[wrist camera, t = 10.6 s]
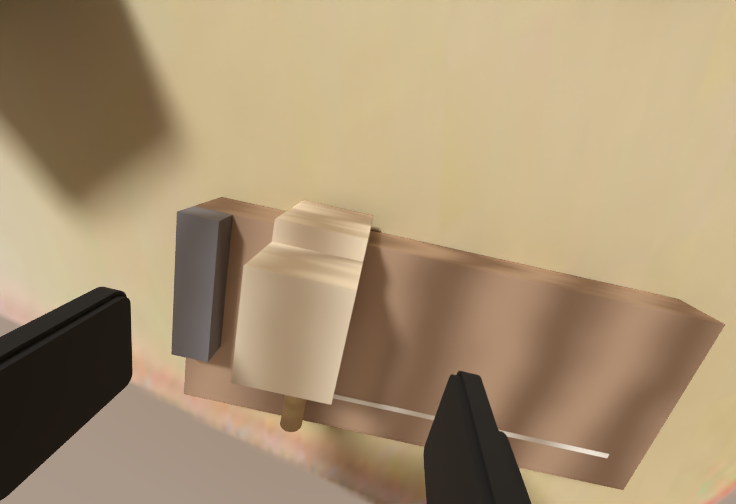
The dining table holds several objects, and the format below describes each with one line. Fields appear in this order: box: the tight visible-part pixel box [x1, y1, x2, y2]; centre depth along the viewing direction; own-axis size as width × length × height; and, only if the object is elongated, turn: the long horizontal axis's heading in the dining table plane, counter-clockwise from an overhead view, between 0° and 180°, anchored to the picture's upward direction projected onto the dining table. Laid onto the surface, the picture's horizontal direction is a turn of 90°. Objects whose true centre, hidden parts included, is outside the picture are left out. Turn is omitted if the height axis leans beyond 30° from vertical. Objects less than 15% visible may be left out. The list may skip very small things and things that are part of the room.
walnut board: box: [172, 197, 725, 490], centre depth 20 cm, size 28×12×4 cm, turn 78°
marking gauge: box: [231, 200, 373, 432], centre depth 17 cm, size 4×12×8 cm, turn 168°
